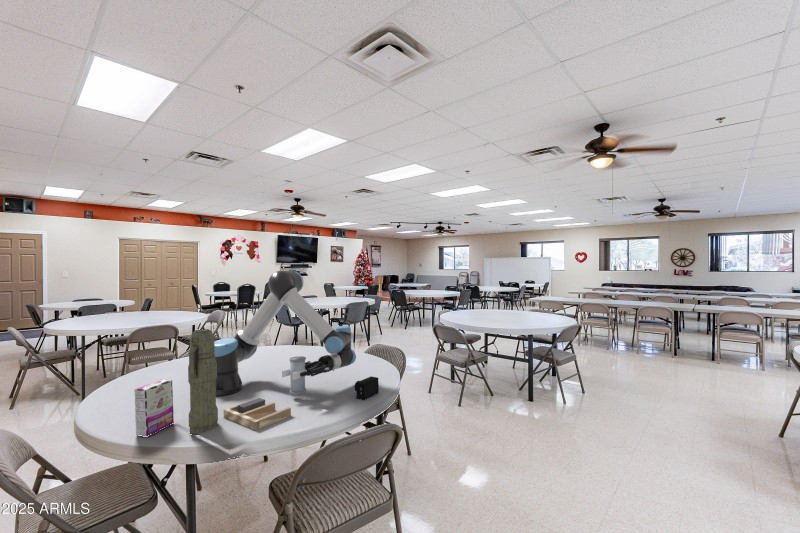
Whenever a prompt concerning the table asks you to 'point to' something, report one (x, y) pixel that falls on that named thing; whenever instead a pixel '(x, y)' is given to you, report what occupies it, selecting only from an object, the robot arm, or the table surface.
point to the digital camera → (367, 387)
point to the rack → (257, 416)
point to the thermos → (202, 382)
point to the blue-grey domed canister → (295, 366)
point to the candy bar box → (154, 407)
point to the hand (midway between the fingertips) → (287, 375)
